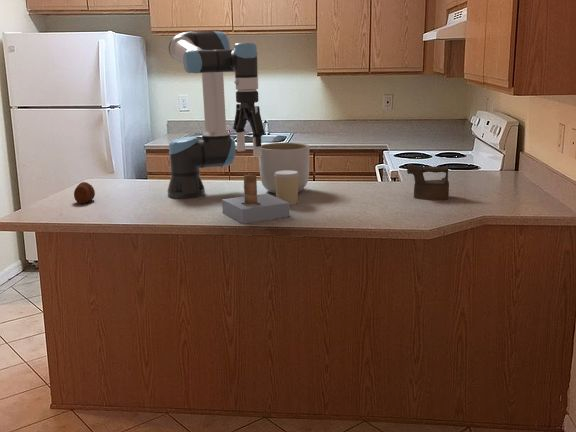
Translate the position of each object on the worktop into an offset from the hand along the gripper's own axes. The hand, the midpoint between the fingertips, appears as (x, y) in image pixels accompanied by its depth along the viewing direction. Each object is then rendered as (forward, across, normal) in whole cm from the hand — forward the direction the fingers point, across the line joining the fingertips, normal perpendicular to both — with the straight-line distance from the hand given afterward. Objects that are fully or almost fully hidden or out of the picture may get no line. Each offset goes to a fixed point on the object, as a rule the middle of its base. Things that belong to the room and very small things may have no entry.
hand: (249, 153), depth 218 cm
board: (+23, -3, +3) cm, 23 cm away
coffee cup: (+23, -13, +21) cm, 34 cm away
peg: (+23, 0, 0) cm, 23 cm away
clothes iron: (+23, +9, +72) cm, 76 cm away
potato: (+23, -59, -46) cm, 78 cm away
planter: (+23, -32, +30) cm, 49 cm away
